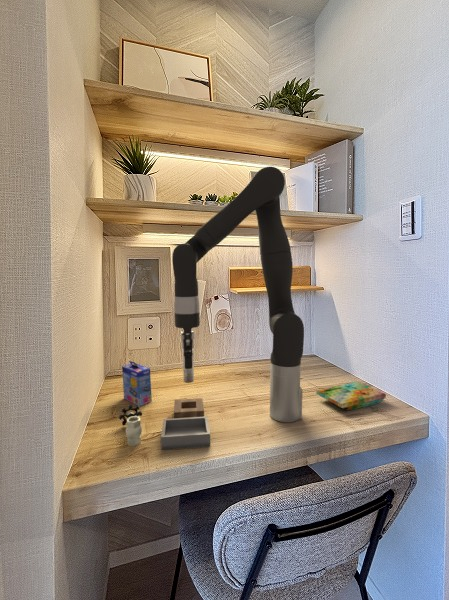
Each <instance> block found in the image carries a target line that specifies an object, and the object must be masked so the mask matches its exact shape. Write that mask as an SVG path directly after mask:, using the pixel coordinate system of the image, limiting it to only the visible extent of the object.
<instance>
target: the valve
mask: <svg viewBox="0 0 449 600" xmlns="http://www.w3.org/2000/svg"><path fill="white" fill-rule="evenodd" d="M139 410H140V406H138V405H135V407H133V403H130V404H128V408H125V407H122V408H121V413H122V414H119V415H118V419H119V420H121V421H122V422H121V425H122V426H126V427H125V435H126V438H127V440H126V441H127V445H128V446H133V447H136V446H137V445H140V444H142V437H141V435H142V432H143V429H142V425H141V417H142V416H143V412H142V411H139ZM129 411H131V412H129ZM132 411H134V412H135V413H134V412H132ZM128 412H129V413H128ZM122 419H123V420H122Z"/></svg>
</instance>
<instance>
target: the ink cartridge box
mask: <svg viewBox="0 0 449 600" xmlns="http://www.w3.org/2000/svg"><path fill="white" fill-rule="evenodd" d="M128 361H129V364H125V365H122V367H121V369H122V387H123V388H122V390H123V391H122V392H123V399H124V400H126V401H128V402H130V403H131V404H134V405H135V406H139V407H141V406H143V405H145V404H149V403H152V401H153V398H152V397H153V396H152V395H153V394H152V381H151V379H152V377H151V368H150V367H148V366H144V365H141V364H139V363H136V362H135V361H132V360H128Z"/></svg>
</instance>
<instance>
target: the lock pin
mask: <svg viewBox="0 0 449 600" xmlns="http://www.w3.org/2000/svg"><path fill="white" fill-rule="evenodd" d="M186 352H191V351H190V350H186ZM192 353H193V355H192V368H191V369H185V357H184V349H183V348H182V366H183V367H182V369H183V373H182V374H183V375H182V377H183V383H185V384H190V383H191V384H192V383H194V382H195V373H194V372H195V370H194V369H195V368H194V367H195V366H194V365H195V364H194V348H193V349H192Z"/></svg>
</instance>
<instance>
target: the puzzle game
mask: <svg viewBox="0 0 449 600" xmlns="http://www.w3.org/2000/svg"><path fill="white" fill-rule="evenodd" d="M316 395H318V396H319V397H321V398H323V399H325V400H326V401H328V402H330V403H332V404H334V405H336V406H338V407H339V408H342V409H343V410H345V411H346V412H347V411H348V412H349V411H352V410H355V409H356V410H357V409H361V408H364V407H368V406H372V405H376V404H380V403H381V402H383V401H384V400H385V399H386V396H387V394H386V393H385V392H383V391H380V390H378V389H376V388H373V387H370V386H369V385H366V384H363V383H361V382H358V381H355V382H349V383H346V384H342V385H337V386H333V387H327V388H322V389H319V390H316Z"/></svg>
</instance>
